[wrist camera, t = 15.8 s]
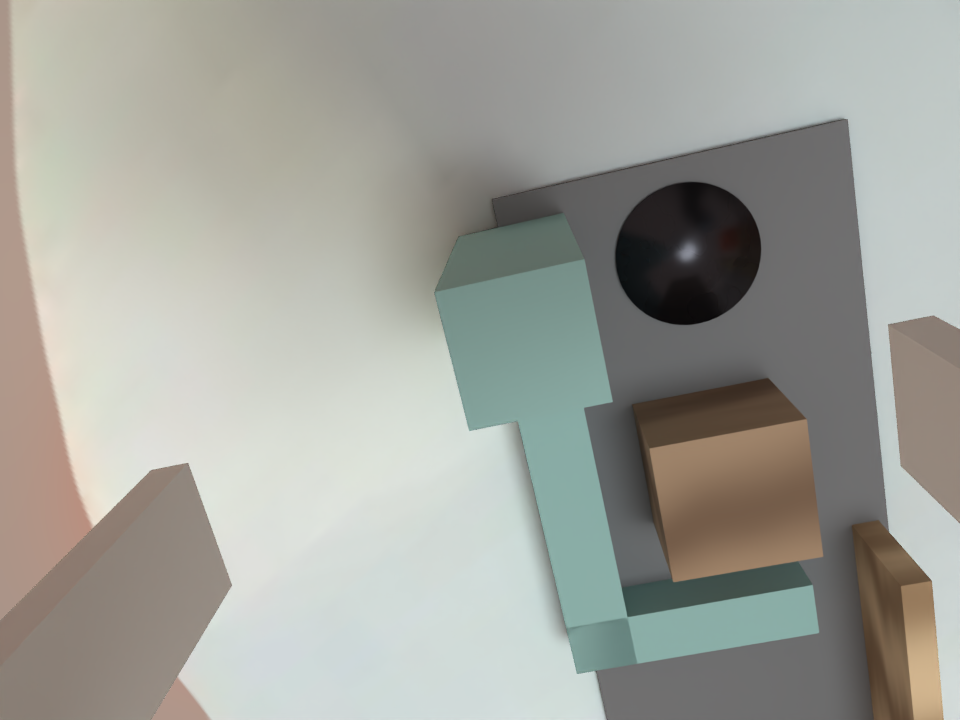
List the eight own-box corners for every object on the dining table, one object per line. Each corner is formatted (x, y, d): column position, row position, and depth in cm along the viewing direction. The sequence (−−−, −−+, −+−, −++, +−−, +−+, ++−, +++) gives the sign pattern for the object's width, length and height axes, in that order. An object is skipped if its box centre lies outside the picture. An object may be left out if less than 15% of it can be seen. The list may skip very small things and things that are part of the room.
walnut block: (632, 404, 37) (649, 448, 32) (768, 378, 36) (806, 419, 32) (653, 523, 39) (673, 582, 34) (784, 500, 38) (823, 556, 33)
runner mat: (492, 199, 35) (492, 200, 35) (843, 119, 33) (847, 119, 33) (632, 829, 44) (633, 835, 44) (911, 789, 43) (915, 795, 42)
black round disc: (602, 198, 35) (603, 200, 34) (747, 166, 34) (750, 167, 34) (627, 334, 36) (629, 337, 36) (765, 305, 36) (769, 309, 35)
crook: (458, 236, 35) (434, 292, 25) (741, 172, 34) (842, 201, 23) (556, 644, 41) (570, 832, 30) (801, 602, 40) (905, 782, 29)
